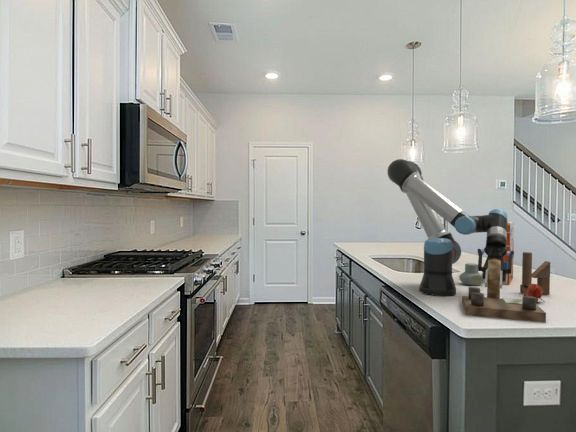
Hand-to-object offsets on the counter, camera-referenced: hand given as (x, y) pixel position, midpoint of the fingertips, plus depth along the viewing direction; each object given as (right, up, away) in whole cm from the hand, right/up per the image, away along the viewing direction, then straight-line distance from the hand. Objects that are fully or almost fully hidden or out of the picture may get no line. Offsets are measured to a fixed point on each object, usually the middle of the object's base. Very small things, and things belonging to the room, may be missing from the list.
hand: (493, 285), depth 154 cm
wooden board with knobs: (-3, -8, -11) cm, 13 cm away
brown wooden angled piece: (+29, -7, +21) cm, 36 cm away
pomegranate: (+19, -8, +6) cm, 21 cm away
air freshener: (+10, -7, +41) cm, 43 cm away
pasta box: (+31, -7, +52) cm, 61 cm away
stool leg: (+2, -6, +3) cm, 7 cm away
